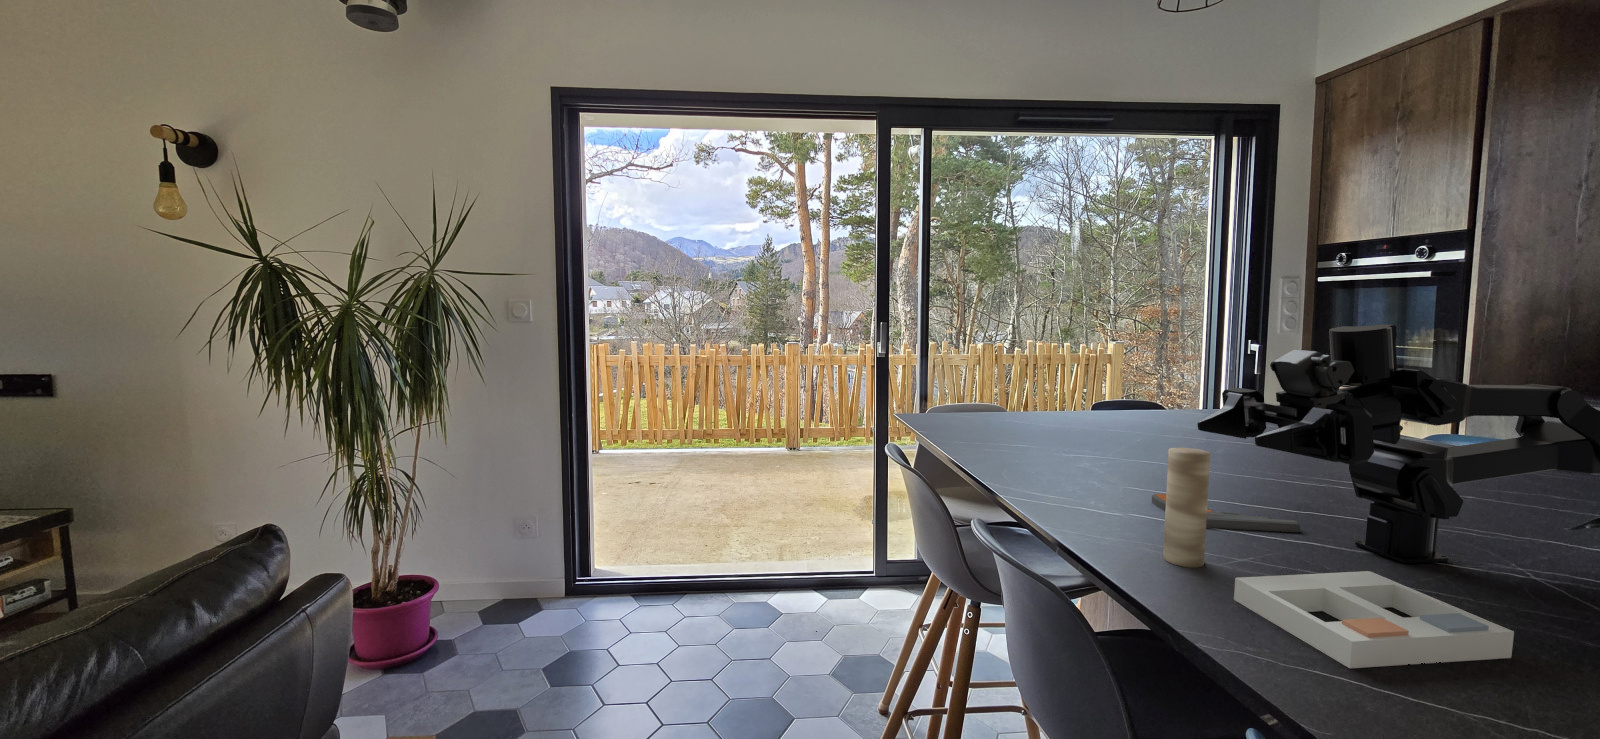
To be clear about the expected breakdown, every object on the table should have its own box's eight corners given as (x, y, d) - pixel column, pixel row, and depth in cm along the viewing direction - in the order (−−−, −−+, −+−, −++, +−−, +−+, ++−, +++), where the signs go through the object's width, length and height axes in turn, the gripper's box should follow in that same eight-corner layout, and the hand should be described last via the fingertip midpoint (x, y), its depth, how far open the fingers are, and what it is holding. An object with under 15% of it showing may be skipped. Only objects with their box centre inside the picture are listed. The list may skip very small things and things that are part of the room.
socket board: (1367, 592, 69) (1369, 567, 69) (1511, 657, 56) (1514, 627, 56) (1233, 599, 67) (1235, 574, 67) (1349, 668, 55) (1352, 637, 54)
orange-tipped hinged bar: (1256, 509, 99) (1300, 536, 87) (1148, 503, 102) (1176, 529, 90) (1256, 498, 99) (1301, 524, 87) (1148, 493, 102) (1177, 517, 90)
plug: (1187, 552, 80) (1193, 447, 79) (1212, 566, 76) (1219, 455, 75) (1155, 554, 80) (1160, 448, 79) (1179, 568, 76) (1185, 456, 74)
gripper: (1274, 344, 85) (1168, 362, 84) (1420, 353, 67) (1286, 377, 66) (1280, 422, 87) (1175, 441, 86) (1425, 453, 68) (1293, 478, 67)
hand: (1225, 433), depth 76 cm, fingers open, 9 cm apart
